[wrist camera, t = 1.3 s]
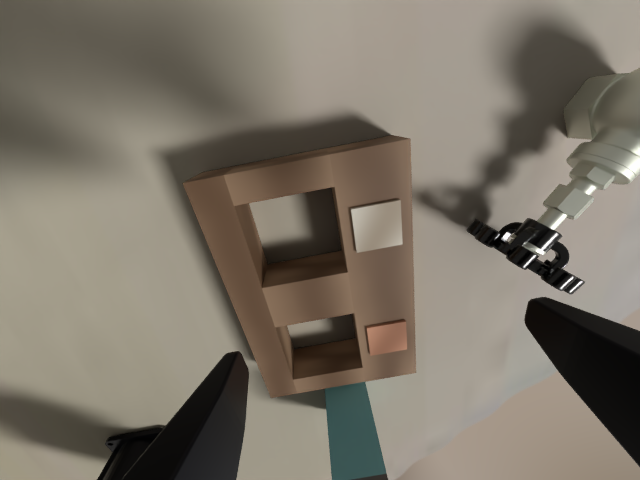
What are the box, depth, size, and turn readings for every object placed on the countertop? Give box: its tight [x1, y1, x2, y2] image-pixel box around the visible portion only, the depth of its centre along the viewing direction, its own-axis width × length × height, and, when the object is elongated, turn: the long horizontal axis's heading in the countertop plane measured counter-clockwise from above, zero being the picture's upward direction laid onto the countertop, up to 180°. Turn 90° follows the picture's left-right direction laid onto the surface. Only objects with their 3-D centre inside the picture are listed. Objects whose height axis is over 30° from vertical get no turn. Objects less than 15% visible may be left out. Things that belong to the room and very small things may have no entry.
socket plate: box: [183, 135, 416, 398], centre depth 19 cm, size 12×18×3 cm, turn 10°
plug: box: [325, 382, 388, 480], centre depth 23 cm, size 4×4×8 cm
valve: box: [467, 68, 640, 294], centre depth 15 cm, size 7×7×12 cm
